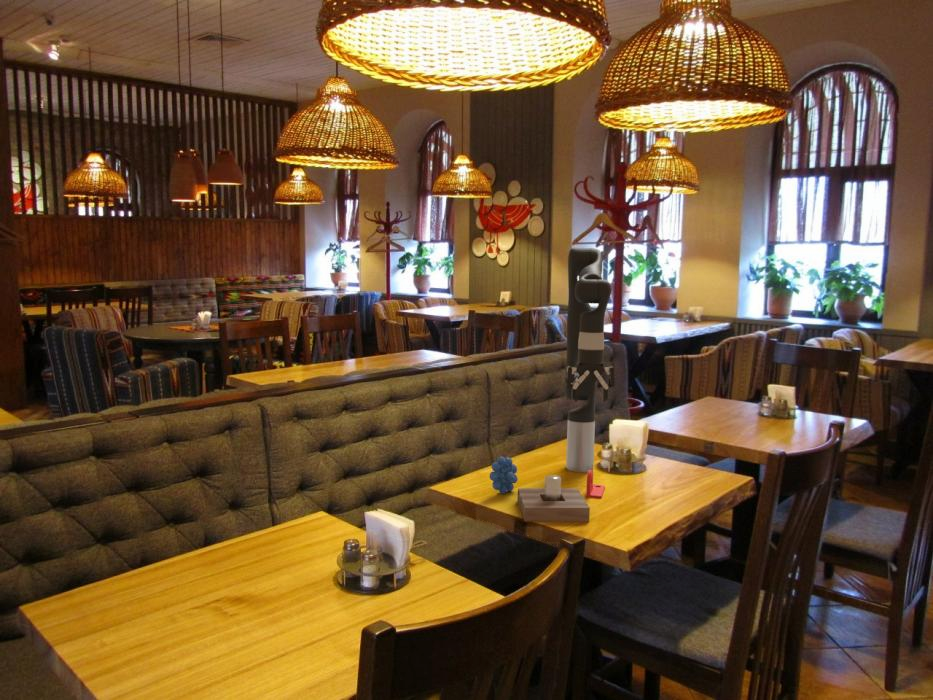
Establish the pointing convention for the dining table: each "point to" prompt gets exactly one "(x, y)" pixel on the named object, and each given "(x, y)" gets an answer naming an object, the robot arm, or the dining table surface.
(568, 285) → the robot arm
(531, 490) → the socket block
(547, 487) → the peg
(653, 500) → the dining table surface
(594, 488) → the bracket
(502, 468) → the grapes
